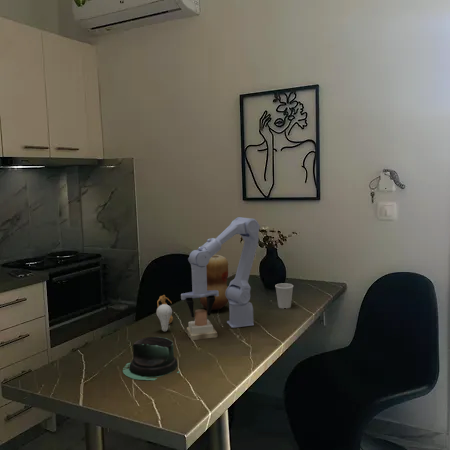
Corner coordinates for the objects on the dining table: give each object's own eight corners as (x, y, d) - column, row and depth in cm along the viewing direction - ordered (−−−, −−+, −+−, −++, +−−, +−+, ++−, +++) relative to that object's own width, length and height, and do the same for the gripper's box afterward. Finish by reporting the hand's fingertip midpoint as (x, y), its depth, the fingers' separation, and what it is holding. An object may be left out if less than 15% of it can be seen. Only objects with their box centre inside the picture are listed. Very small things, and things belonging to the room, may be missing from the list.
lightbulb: (175, 329, 190) (174, 302, 189) (168, 334, 184) (167, 307, 183) (161, 328, 192) (160, 301, 191) (154, 333, 186) (153, 306, 185)
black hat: (189, 356, 163) (188, 330, 162) (175, 382, 144) (174, 353, 143) (134, 354, 166) (133, 329, 165) (113, 380, 147) (111, 351, 146)
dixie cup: (294, 309, 212) (294, 287, 211) (276, 309, 213) (275, 287, 211) (292, 303, 221) (292, 282, 219) (274, 304, 221) (274, 283, 220)
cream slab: (208, 325, 189) (208, 319, 188) (213, 332, 181) (212, 325, 181) (188, 327, 187) (188, 321, 186) (192, 334, 179) (192, 328, 179)
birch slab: (211, 330, 190) (210, 324, 190) (217, 338, 181) (217, 332, 180) (186, 333, 188) (186, 327, 187) (191, 342, 178) (191, 335, 178)
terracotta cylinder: (205, 321, 186) (205, 308, 186) (208, 325, 182) (208, 312, 181) (193, 322, 185) (193, 310, 184) (196, 326, 180) (196, 313, 180)
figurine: (165, 327, 193) (163, 298, 192) (154, 324, 197) (152, 296, 195) (178, 321, 200) (177, 293, 199) (167, 318, 204) (166, 291, 202)
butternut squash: (220, 315, 206) (218, 259, 203) (194, 311, 213) (192, 257, 209) (235, 307, 218) (234, 253, 215) (210, 303, 225) (209, 251, 221)
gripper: (182, 285, 176) (184, 320, 177) (220, 282, 180) (221, 316, 181) (179, 281, 183) (180, 315, 184) (215, 278, 186) (216, 311, 188)
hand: (200, 315), depth 183 cm, fingers open, 6 cm apart
